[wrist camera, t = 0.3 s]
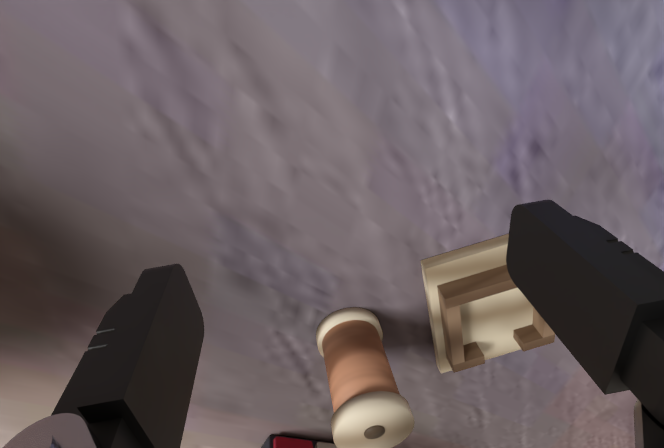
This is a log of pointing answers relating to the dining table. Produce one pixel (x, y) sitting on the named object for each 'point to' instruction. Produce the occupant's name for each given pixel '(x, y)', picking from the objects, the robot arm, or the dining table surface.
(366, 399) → the bobbin
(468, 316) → the board
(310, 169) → the dining table surface
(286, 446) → the calculator
